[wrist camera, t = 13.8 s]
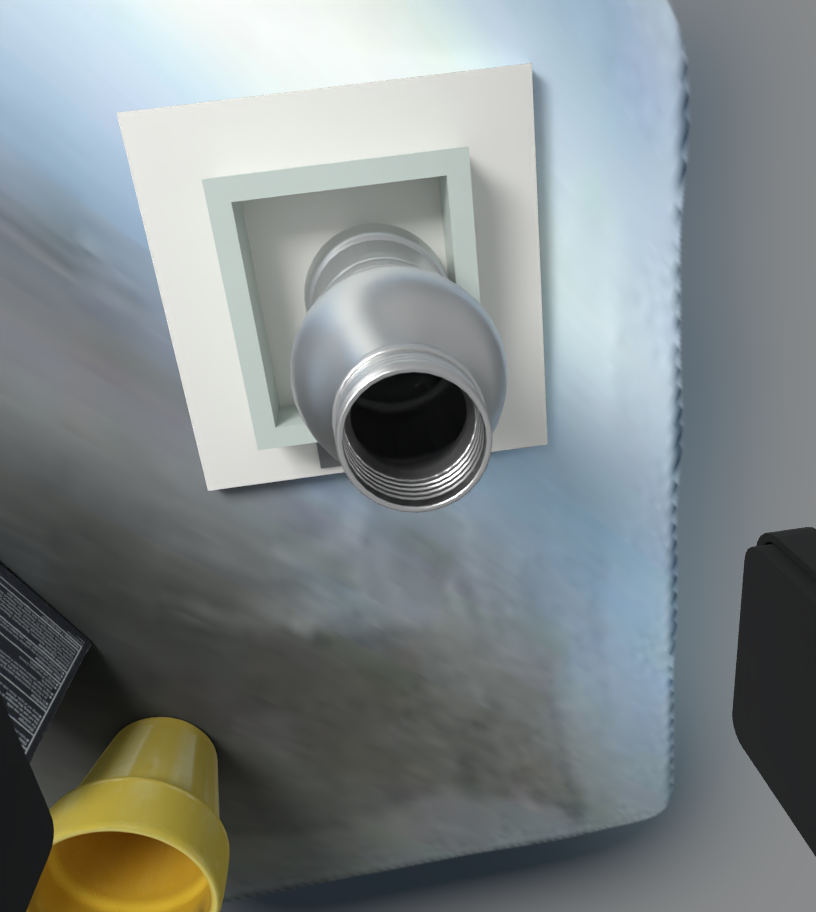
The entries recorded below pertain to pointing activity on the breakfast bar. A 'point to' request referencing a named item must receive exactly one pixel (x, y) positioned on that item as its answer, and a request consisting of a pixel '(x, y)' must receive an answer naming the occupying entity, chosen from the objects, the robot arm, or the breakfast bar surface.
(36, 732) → the small box
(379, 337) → the metal bottle
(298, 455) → the charging dock
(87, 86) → the breakfast bar surface
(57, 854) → the plant pot
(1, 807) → the robot arm
